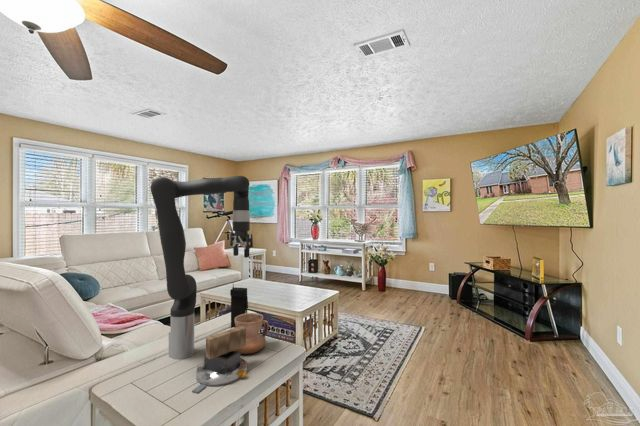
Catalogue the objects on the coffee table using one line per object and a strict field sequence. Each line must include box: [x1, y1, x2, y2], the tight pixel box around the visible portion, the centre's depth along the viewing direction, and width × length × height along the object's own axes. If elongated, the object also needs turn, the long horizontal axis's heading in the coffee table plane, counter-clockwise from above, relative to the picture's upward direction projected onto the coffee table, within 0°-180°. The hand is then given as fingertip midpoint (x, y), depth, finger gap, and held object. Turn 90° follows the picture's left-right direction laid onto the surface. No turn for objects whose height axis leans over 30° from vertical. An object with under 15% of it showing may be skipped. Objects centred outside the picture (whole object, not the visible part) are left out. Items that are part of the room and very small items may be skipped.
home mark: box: [191, 383, 207, 394], centre depth 101 cm, size 2×4×1 cm, turn 158°
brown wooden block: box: [205, 326, 246, 359], centre depth 113 cm, size 7×3×15 cm
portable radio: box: [230, 283, 249, 329], centre depth 147 cm, size 8×6×25 cm
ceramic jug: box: [229, 312, 269, 355], centre depth 131 cm, size 18×14×14 cm
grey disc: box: [195, 350, 248, 387], centre depth 111 cm, size 19×18×7 cm
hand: (241, 256), depth 135 cm, fingers open, 8 cm apart
